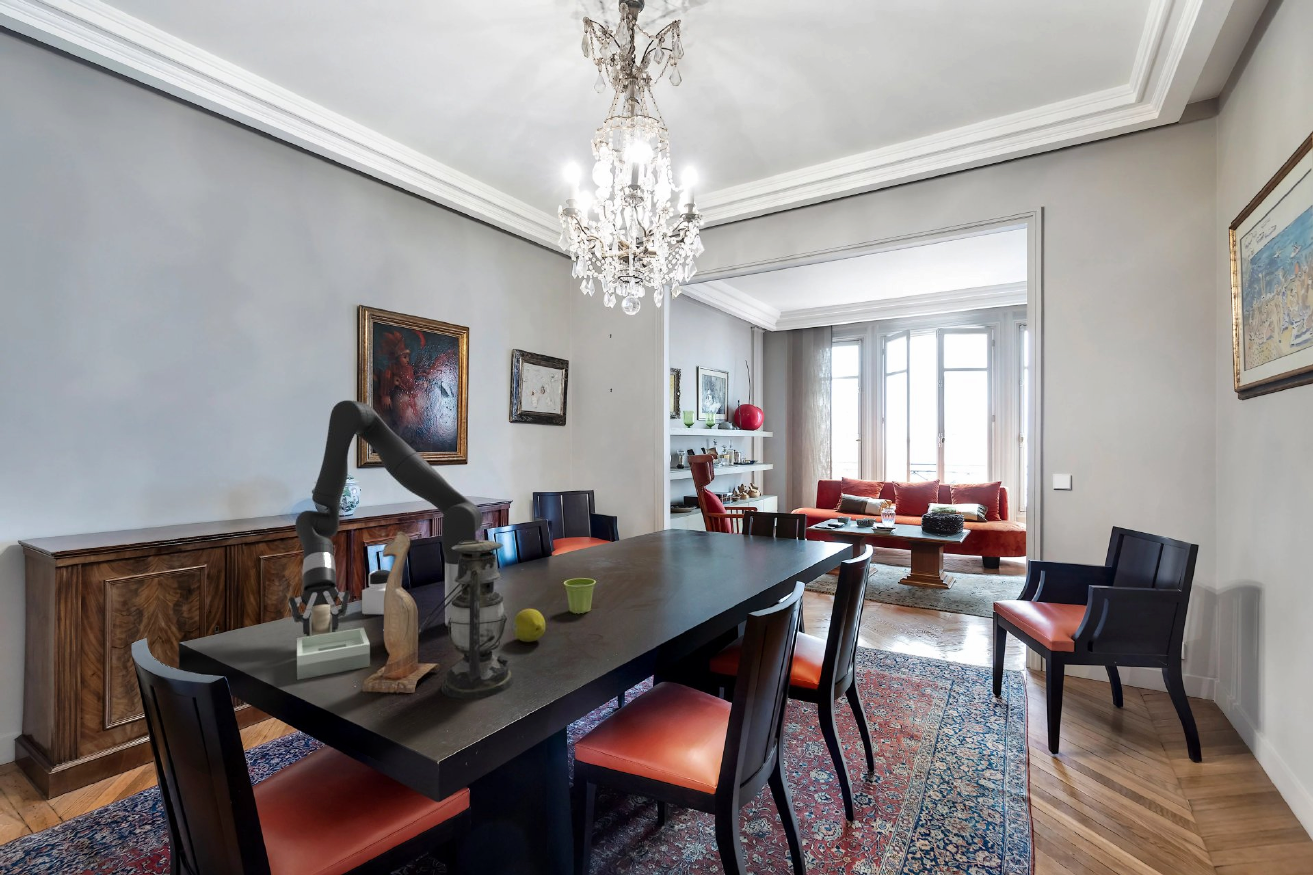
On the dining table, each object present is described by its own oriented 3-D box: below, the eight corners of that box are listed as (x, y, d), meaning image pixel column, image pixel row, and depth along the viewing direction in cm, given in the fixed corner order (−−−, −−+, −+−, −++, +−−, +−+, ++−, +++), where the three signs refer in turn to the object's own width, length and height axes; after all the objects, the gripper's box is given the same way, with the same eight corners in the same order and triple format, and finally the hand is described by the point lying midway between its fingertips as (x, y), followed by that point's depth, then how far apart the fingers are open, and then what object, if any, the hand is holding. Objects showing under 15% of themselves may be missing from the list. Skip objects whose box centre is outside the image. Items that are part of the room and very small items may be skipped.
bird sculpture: (388, 672, 130) (382, 528, 130) (440, 671, 130) (435, 526, 130) (361, 694, 119) (355, 536, 119) (418, 693, 119) (412, 534, 119)
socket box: (363, 647, 145) (363, 627, 145) (369, 666, 133) (369, 644, 133) (296, 659, 138) (296, 637, 138) (297, 679, 126) (297, 656, 126)
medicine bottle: (397, 607, 180) (397, 568, 180) (384, 614, 173) (384, 573, 173) (375, 607, 181) (375, 568, 181) (361, 614, 174) (361, 573, 174)
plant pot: (593, 615, 171) (593, 585, 171) (561, 615, 171) (561, 585, 171) (597, 606, 180) (597, 578, 180) (566, 606, 180) (566, 578, 180)
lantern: (512, 699, 115) (511, 546, 115) (408, 709, 111) (408, 550, 112) (514, 664, 134) (514, 532, 134) (425, 671, 130) (425, 535, 130)
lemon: (510, 636, 153) (510, 605, 153) (541, 633, 155) (541, 602, 156) (516, 650, 143) (516, 617, 143) (549, 646, 145) (548, 613, 145)
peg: (333, 644, 148) (333, 604, 148) (325, 649, 144) (325, 608, 144) (316, 644, 148) (316, 604, 148) (308, 650, 144) (308, 609, 144)
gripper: (286, 569, 148) (286, 629, 138) (350, 562, 156) (354, 619, 146) (287, 585, 153) (286, 645, 143) (349, 578, 160) (353, 635, 150)
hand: (321, 632), depth 144 cm, fingers open, 5 cm apart
